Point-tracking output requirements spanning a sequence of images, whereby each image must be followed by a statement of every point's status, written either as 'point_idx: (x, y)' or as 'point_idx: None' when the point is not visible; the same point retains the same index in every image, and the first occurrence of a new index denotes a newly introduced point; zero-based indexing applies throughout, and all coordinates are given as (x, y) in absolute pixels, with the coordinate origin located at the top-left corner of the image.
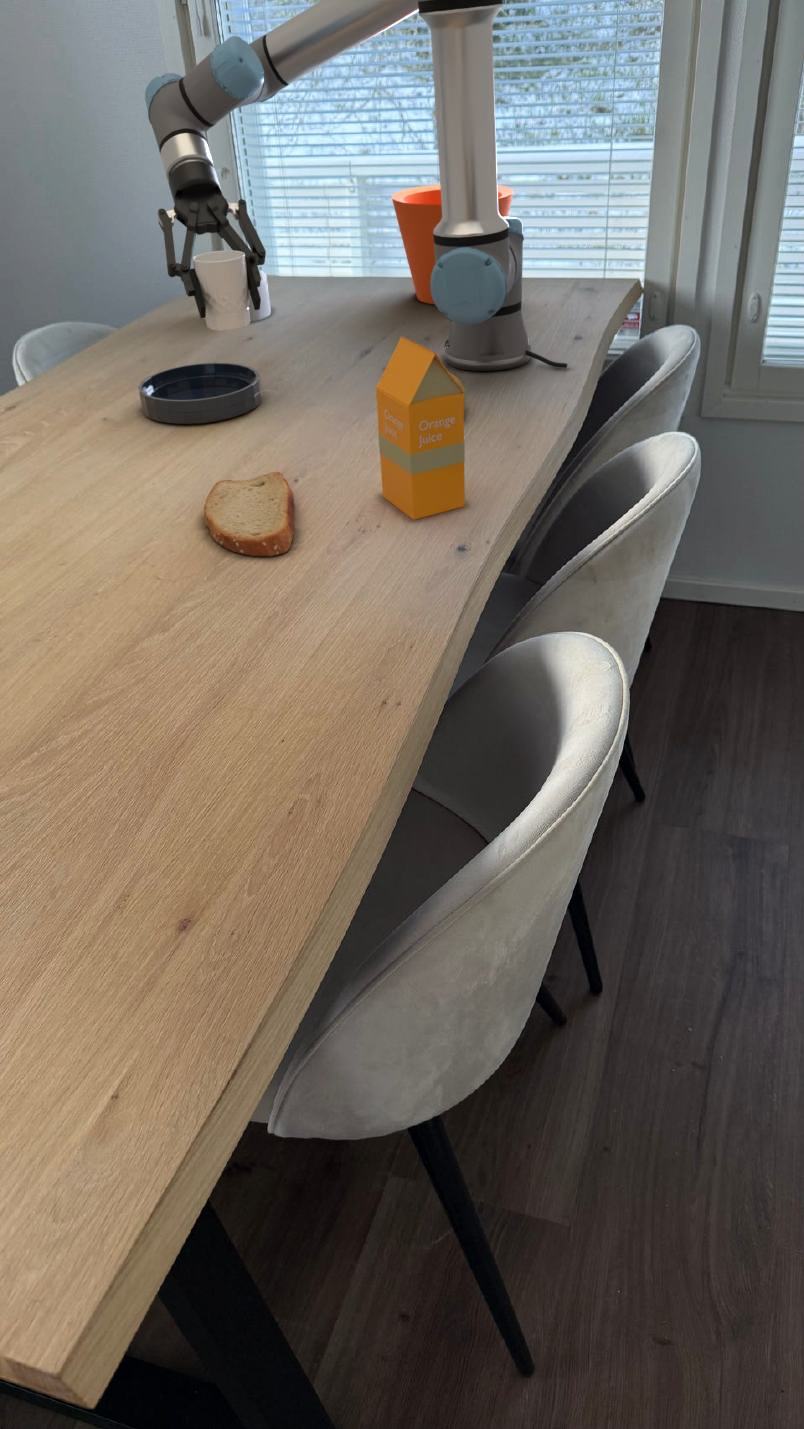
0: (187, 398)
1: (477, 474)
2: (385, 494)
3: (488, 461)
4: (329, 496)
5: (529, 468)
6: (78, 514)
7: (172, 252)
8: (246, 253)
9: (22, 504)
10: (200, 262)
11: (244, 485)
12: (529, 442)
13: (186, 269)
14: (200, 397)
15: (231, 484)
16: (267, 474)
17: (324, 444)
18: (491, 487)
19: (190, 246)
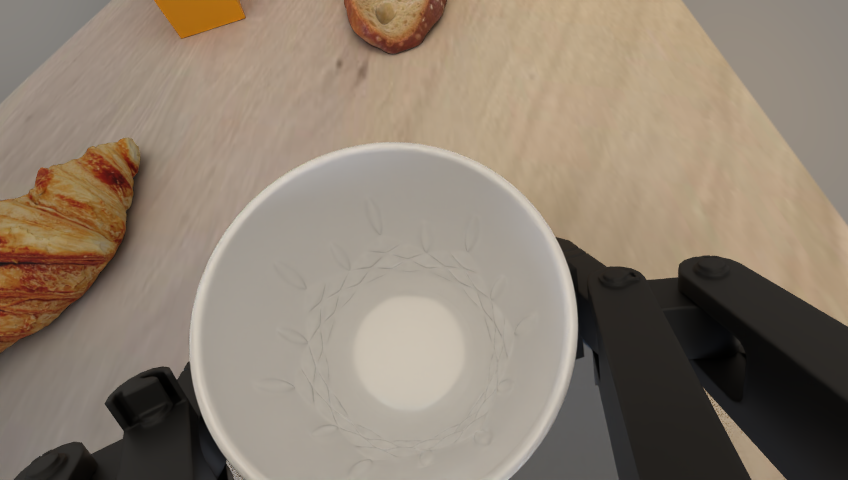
0: (566, 473)
1: (121, 54)
2: (241, 8)
3: (89, 84)
4: (304, 24)
5: (56, 61)
6: (606, 15)
7: (768, 319)
8: (172, 434)
9: (698, 44)
10: (492, 171)
11: (400, 8)
12: (6, 130)
13: (596, 270)
14: (532, 473)
15: (415, 1)
16: (370, 22)
17: (284, 168)
18: (123, 25)
19: (637, 400)
